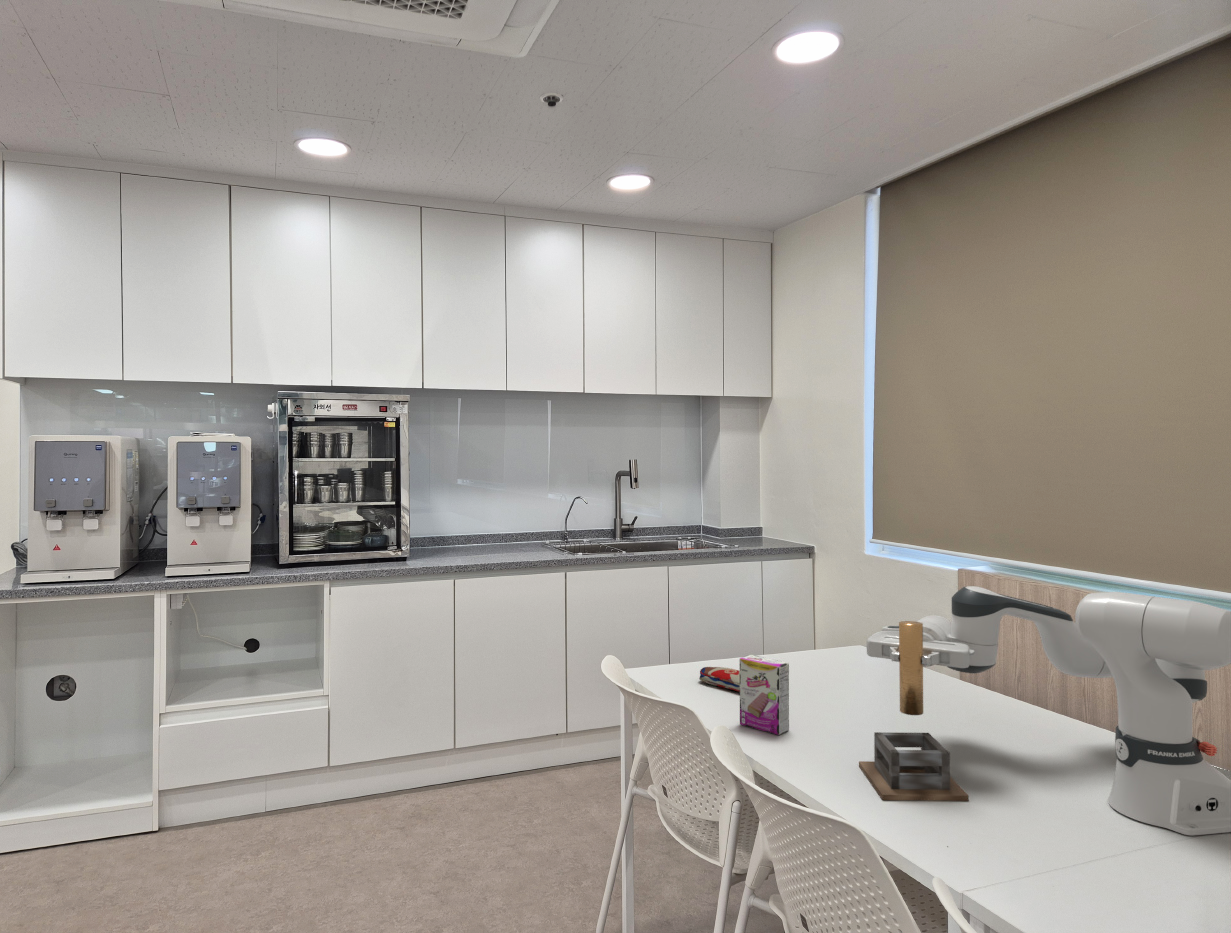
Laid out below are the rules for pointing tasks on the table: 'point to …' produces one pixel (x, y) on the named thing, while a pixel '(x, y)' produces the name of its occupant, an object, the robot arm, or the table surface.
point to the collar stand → (911, 769)
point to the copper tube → (911, 667)
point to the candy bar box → (764, 694)
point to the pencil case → (721, 677)
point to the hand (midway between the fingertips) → (910, 659)
